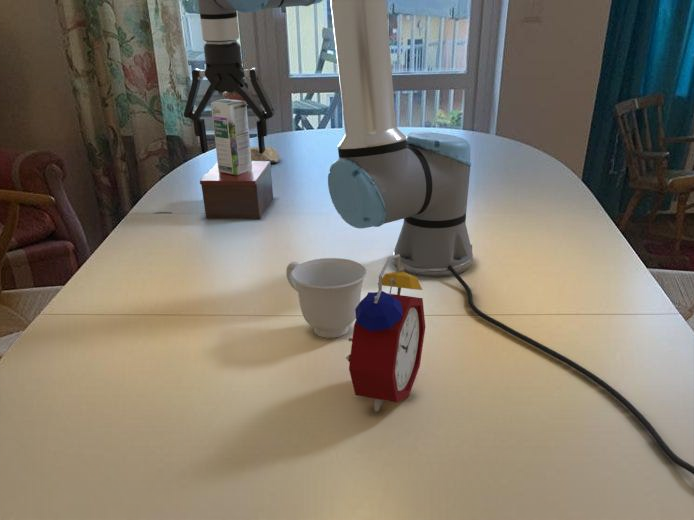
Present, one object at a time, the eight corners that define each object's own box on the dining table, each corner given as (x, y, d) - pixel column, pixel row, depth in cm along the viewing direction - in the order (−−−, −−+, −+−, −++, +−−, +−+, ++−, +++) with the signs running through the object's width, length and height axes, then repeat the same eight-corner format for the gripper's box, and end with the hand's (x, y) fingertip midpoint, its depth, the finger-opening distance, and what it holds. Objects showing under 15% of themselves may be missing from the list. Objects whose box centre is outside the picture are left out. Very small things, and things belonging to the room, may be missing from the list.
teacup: (314, 304, 129) (311, 248, 123) (382, 326, 121) (382, 268, 115) (266, 329, 122) (261, 270, 116) (335, 354, 114) (333, 293, 108)
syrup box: (217, 172, 167) (208, 102, 158) (234, 166, 171) (226, 97, 162) (236, 176, 164) (229, 104, 155) (253, 169, 168) (246, 99, 159)
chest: (259, 219, 167) (256, 183, 162) (205, 218, 168) (201, 183, 163) (273, 198, 179) (270, 164, 174) (223, 197, 180) (219, 164, 176)
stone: (242, 159, 209) (240, 142, 207) (279, 158, 210) (277, 141, 207) (240, 167, 203) (238, 149, 200) (277, 166, 203) (276, 148, 200)
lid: (255, 184, 161) (255, 181, 161) (200, 184, 163) (199, 180, 162) (270, 164, 174) (270, 161, 174) (219, 164, 176) (218, 160, 175)
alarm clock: (392, 424, 98) (395, 281, 86) (332, 413, 101) (327, 272, 88) (424, 373, 109) (431, 239, 97) (369, 364, 111) (369, 232, 99)
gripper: (283, 38, 154) (290, 147, 167) (169, 40, 156) (185, 147, 169) (276, 43, 148) (284, 156, 161) (158, 44, 150) (175, 155, 163)
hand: (233, 151), depth 165 cm, fingers open, 12 cm apart
